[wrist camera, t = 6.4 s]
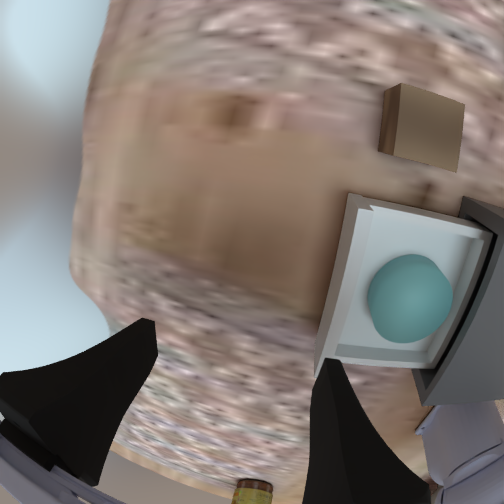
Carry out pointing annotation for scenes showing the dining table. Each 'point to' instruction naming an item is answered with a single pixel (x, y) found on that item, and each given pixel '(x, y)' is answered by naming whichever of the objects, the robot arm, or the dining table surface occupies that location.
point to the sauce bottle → (252, 492)
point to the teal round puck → (409, 299)
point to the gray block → (474, 329)
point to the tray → (373, 259)
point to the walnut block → (421, 126)
